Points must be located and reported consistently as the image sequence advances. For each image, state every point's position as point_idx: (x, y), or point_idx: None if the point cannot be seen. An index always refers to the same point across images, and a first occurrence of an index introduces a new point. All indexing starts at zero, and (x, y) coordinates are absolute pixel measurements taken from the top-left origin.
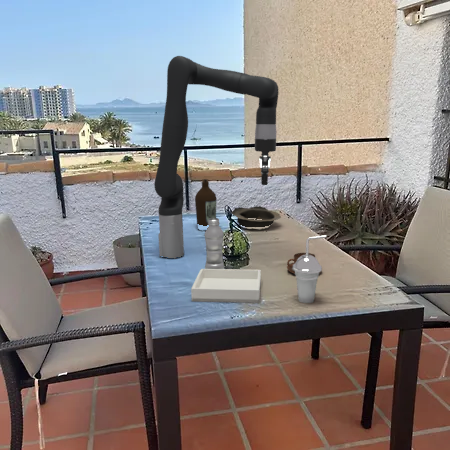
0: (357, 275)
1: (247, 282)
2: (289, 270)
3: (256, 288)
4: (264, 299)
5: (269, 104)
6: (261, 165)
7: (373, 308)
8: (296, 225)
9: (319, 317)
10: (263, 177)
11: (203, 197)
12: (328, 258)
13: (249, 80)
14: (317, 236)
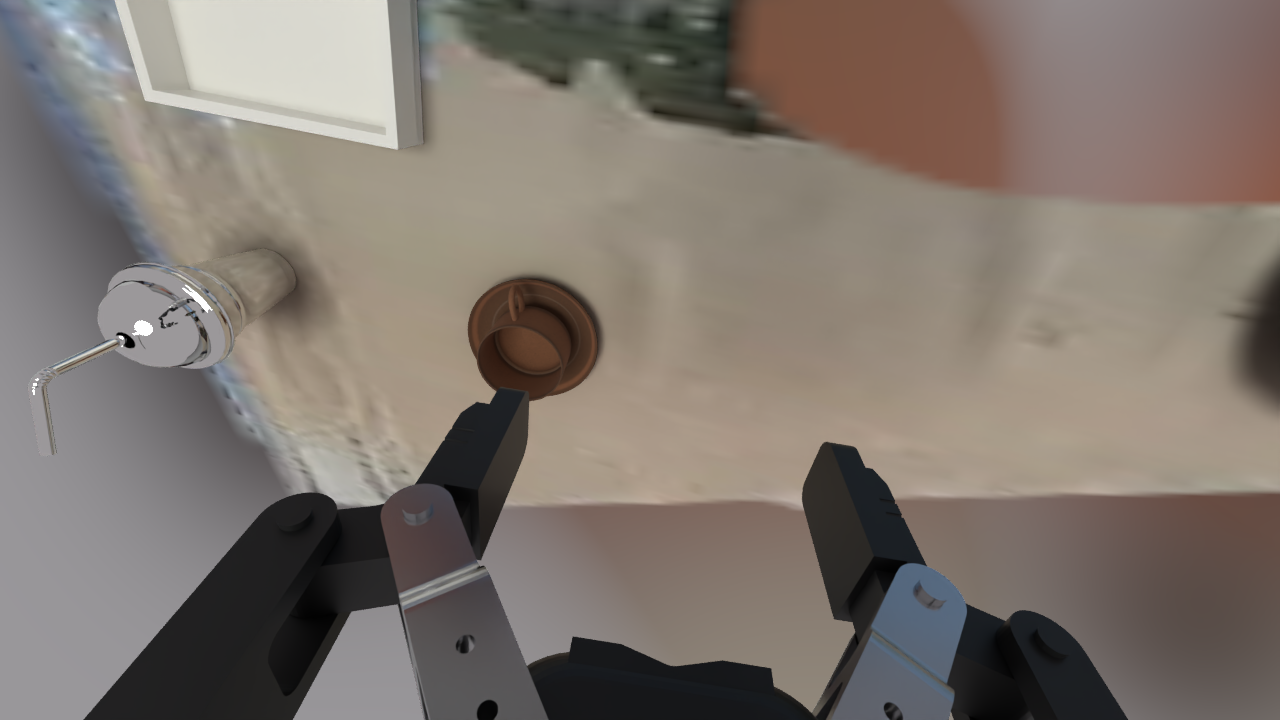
0: None
1: (359, 72)
2: (505, 282)
3: (297, 106)
4: (236, 126)
5: None
6: (411, 648)
7: (263, 418)
8: (1241, 476)
9: None
10: (434, 469)
11: None
12: (681, 447)
13: None
14: (34, 422)
